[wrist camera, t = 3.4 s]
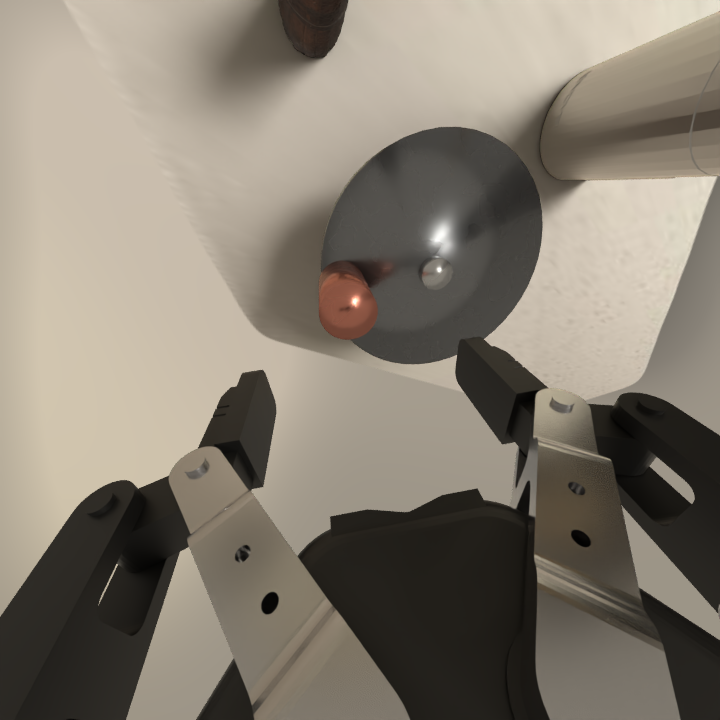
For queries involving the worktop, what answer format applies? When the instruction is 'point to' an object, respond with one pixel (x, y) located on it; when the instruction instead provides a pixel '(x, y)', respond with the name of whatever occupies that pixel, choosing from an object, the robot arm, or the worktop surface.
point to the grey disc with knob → (429, 245)
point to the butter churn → (313, 24)
